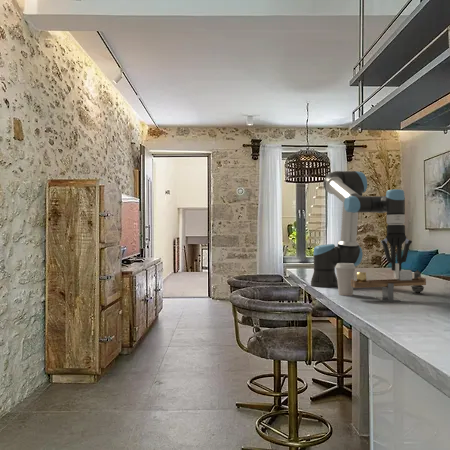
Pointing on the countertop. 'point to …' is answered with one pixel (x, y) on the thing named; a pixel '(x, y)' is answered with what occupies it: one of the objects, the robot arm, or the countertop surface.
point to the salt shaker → (417, 288)
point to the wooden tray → (385, 282)
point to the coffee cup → (345, 278)
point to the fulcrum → (388, 294)
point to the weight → (361, 277)
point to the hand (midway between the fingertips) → (396, 278)
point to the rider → (405, 275)
